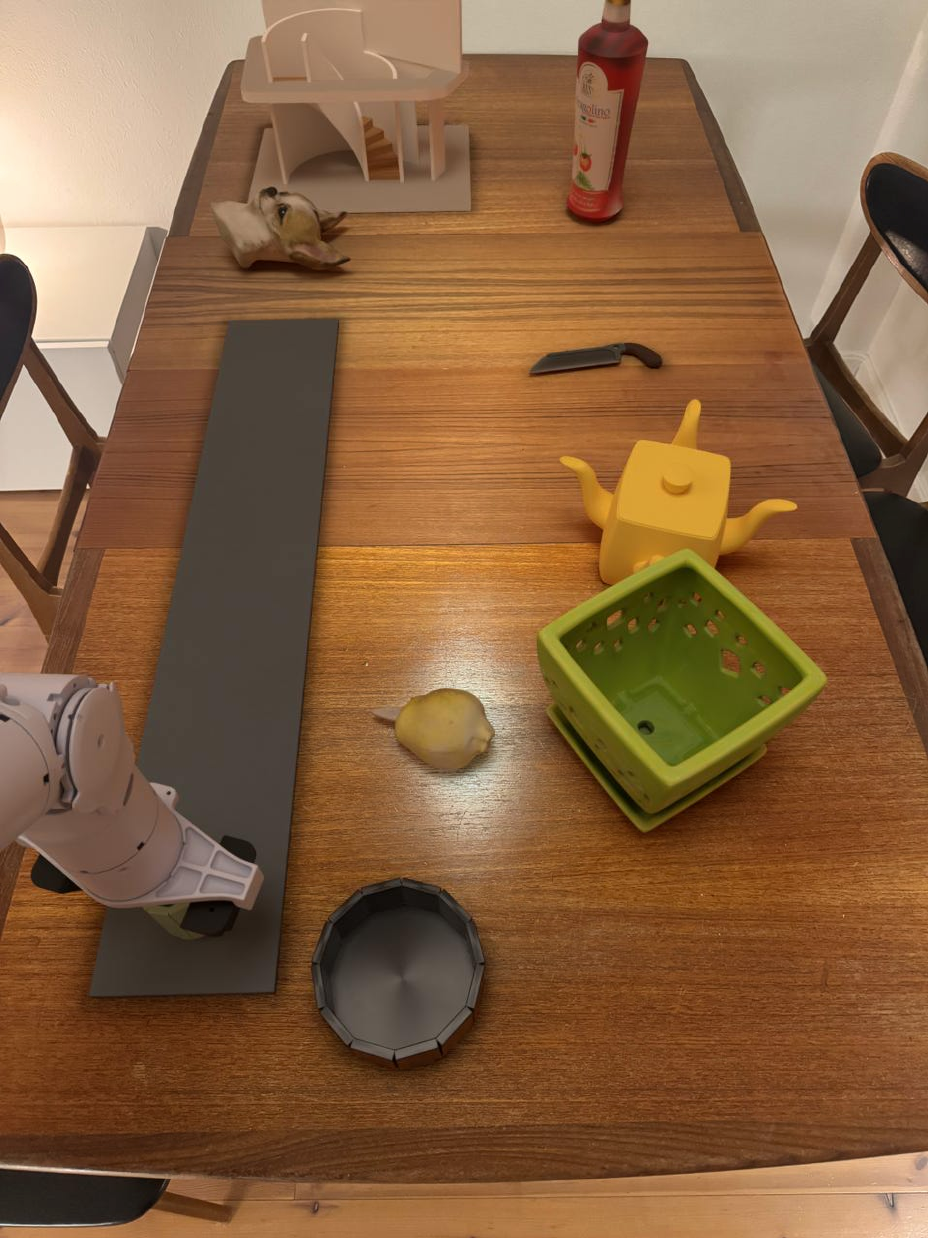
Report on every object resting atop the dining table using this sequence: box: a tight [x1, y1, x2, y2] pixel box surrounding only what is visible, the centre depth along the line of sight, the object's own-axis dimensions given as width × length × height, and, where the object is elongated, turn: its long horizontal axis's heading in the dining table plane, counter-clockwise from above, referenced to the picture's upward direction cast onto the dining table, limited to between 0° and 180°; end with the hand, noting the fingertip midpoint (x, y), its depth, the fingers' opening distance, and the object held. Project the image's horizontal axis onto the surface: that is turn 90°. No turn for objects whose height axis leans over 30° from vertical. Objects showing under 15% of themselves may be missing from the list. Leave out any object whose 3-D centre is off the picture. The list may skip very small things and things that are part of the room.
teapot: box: [559, 399, 798, 603], centre depth 73 cm, size 15×14×10 cm
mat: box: [88, 318, 340, 999], centre depth 76 cm, size 69×12×1 cm, turn 1°
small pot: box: [143, 902, 205, 940], centre depth 57 cm, size 4×5×6 cm
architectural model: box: [239, 0, 472, 214], centre depth 104 cm, size 28×21×23 cm
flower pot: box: [536, 548, 828, 834], centre depth 61 cm, size 14×14×13 cm
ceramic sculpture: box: [210, 187, 351, 271], centre depth 99 cm, size 11×9×15 cm
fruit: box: [372, 687, 496, 771], centre depth 65 cm, size 6×6×10 cm
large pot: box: [310, 877, 486, 1071], centre depth 55 cm, size 10×10×4 cm
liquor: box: [565, 0, 649, 223], centre depth 96 cm, size 7×7×28 cm
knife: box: [528, 342, 663, 375], centre depth 91 cm, size 14×4×1 cm, turn 100°
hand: (177, 899), depth 56 cm, fingers open, 7 cm apart
